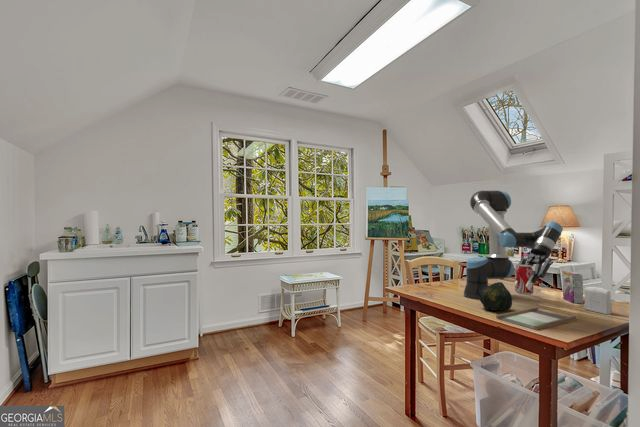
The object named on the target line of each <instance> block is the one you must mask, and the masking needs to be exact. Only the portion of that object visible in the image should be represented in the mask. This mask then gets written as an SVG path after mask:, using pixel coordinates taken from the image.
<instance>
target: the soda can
mask: <svg viewBox="0 0 640 427" xmlns="http://www.w3.org/2000/svg"><path fill="white" fill-rule="evenodd" d="M533 273H534V269H533V266H531V265H522V264H519V263H518V264H516V265H515V266H514V283H515V282H516V280H517V281H518V286H516V285H515V284H514V291H515V293H517V294H519V295H526V296H528V295H529V296H531V295H533V294H534V284H533V285H532V287H531V289H530V290H528V288H527V287H526V284H527V282H528V280H529V278H530V276H531V275H534V274H533Z"/></svg>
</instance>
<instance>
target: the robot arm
mask: <svg viewBox="0 0 640 427" xmlns="http://www.w3.org/2000/svg"><path fill="white" fill-rule="evenodd" d="M469 205H470V207H471V209H472V210H473V211H474V213H475V214H479V216H480V217H481V218H482V219H483V220H484V221H485V222H486V223H487V225H488V239H489V240H488V244H489V254H488V255H487V257H483V256H481V257H480V256H479V257H477V256H476V257H471V258H468V259H467V260H466V264H465V265H466V266H465V268H466V270H465V271H466V284H465V288H464V290H463V296H464V297H466V298H468V299H475V300H480V293H481V291H482V289H484V288H485V287H487V286H489V280H495V279H496V280H497V279H499V280H503V279H509V278H511V277H512V275H513V274H514V273H515V265H514V263H513V261H512V260H511V259H510V256H508V254H506V248H510V249H512V248H526V249H528V250H530V253H529V254H528V255H527V256H524V255H521V257H520V261H519V262H518V264H522V265H531V266H532V267H533V266H534V265H535V268H534V270H533V275H531V276H530V278H529V280H528V282H527V284H526V287H527V288H528V290H530V289H531V287H532V285H533V286H534V284H536V283H537V281H538V280H539V279H540V278H541V279H543V278H544V277H545V276H546V275H547V272H548V270H549V268H550V266H551V265H553V264H554V261H553V260H552V258H550V256H551V254H552V252H553V250H554V248H555V246H556V244H557V242H558V241H559V238H560V237H561V235H562V232H563V229H564V228H563V226H562V225H561V224H560V223H558V222H556V221H547V222H546V223H545V224H544V225H543V228H540V229H538V230H536V231H533V232H517V231H515V230H514V228H512V227H511V225H509V224H508V222H507V221H506V220H505V214H506V213H507V212H508V209H510V208H511V205H512V199H511V196H510V194H509V193H508V192H507V191H504V190H479V191H477V192H475V193H473V194H472V196H471V198H470V200H469ZM515 285H516V286H518V281H517V280H516V282H515V281H514V286H515Z"/></svg>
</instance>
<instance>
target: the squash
mask: <svg viewBox="0 0 640 427" xmlns="http://www.w3.org/2000/svg"><path fill="white" fill-rule="evenodd" d="M479 300H480V303H481V305H482V306H483V308H484V309H486V310H488V311H493V312H494V311H509V310H510V309H511V307H513V306H512V305H513V297H512V294H511V292H510V291H509V290H508V289H507V287H506V286H505V285H504V283H503V282H502V281H501V282H500V281H499V282H494V283H492V284H490V285H489V284H488V286H487V287H485V288H484V289H482V291H481V293H480V299H479Z"/></svg>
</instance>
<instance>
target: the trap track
mask: <svg viewBox="0 0 640 427" xmlns="http://www.w3.org/2000/svg"><path fill="white" fill-rule="evenodd" d="M495 316H496V317H495V318H496V319H497V320H500V321H504V322H508V323H510V324H513V325H517V326H521V327H524V328H528V329H531V330H535V331H540V330H543V329H547V328H549V327H550V326H551V327H554V326H557V325H561V324H565V323H568V322H573V321H576V320H577V316H576V315H572V316H565V315H564V316H563V315H561V314H560V315H559V314H555V313H551V312H547V311H542V310H539V309H538V307H537V306H533V307H530V308H525V309H521V310H515V311H511V312H505V313H501V314H496V315H495Z"/></svg>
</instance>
